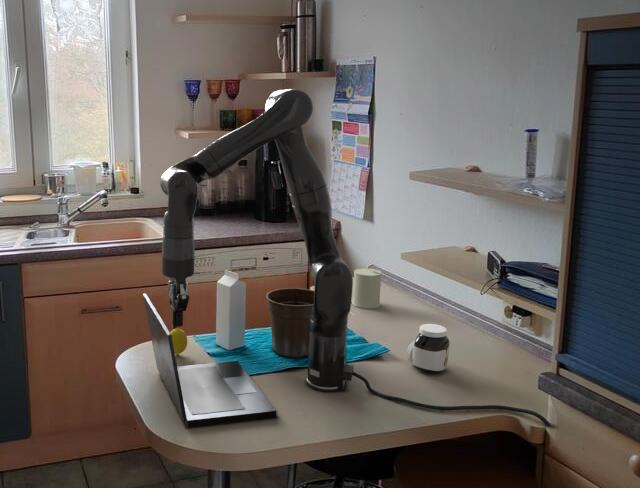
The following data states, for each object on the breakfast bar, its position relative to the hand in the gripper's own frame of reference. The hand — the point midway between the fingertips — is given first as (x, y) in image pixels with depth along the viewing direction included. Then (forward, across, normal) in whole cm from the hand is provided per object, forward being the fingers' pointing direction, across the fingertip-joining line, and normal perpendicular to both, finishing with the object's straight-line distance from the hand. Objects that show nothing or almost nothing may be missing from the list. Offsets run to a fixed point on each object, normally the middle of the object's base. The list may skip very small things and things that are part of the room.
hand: (177, 325), depth 174 cm
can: (+18, +56, -78) cm, 98 cm away
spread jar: (+18, +4, -70) cm, 72 cm away
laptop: (+19, 0, -10) cm, 21 cm away
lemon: (+19, +27, -6) cm, 33 cm away
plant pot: (+19, +23, -39) cm, 49 cm away
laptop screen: (+7, 0, +3) cm, 7 cm away
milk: (+19, +31, -23) cm, 42 cm away
